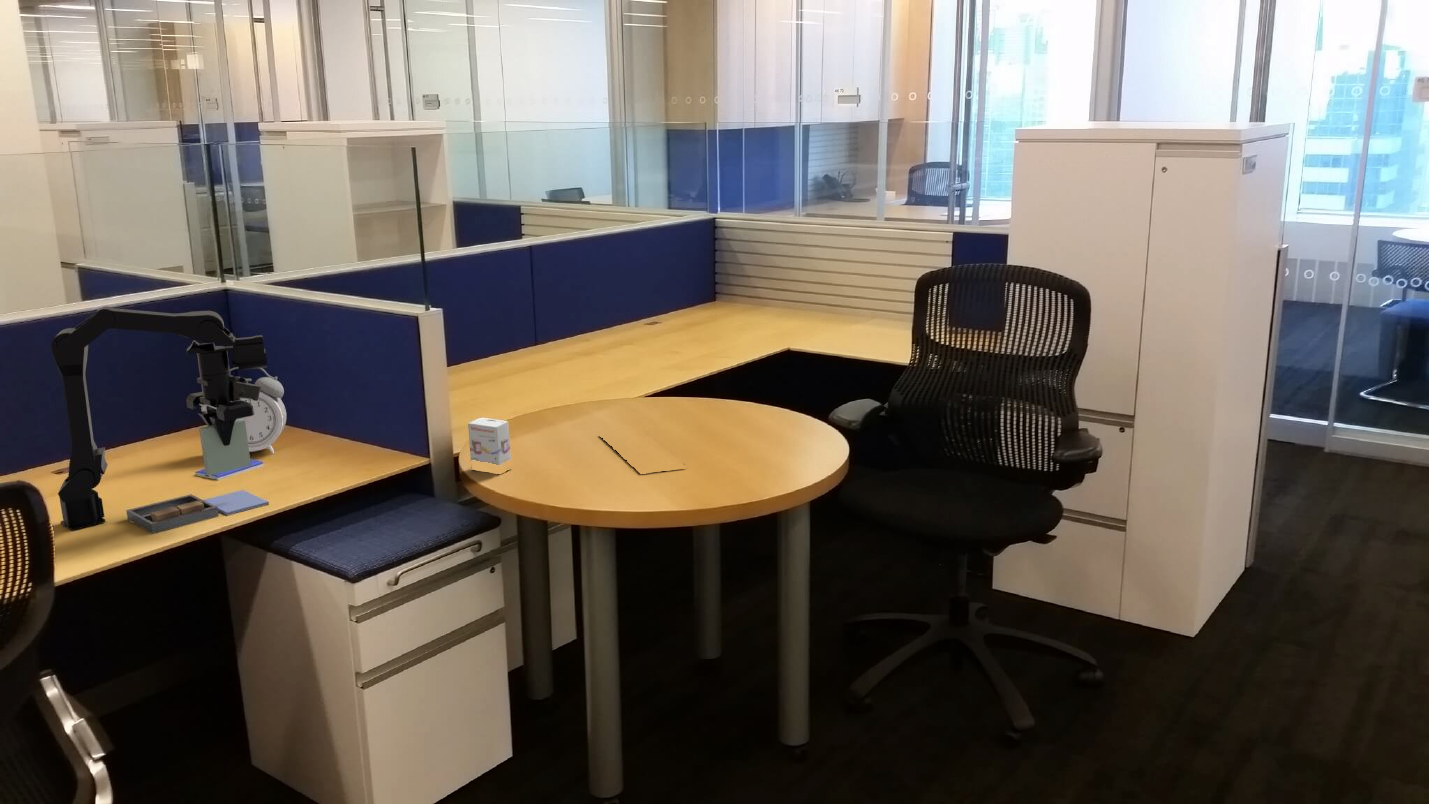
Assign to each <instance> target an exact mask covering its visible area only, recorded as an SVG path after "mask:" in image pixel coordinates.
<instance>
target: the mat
mask: <svg viewBox="0 0 1429 804" xmlns="http://www.w3.org/2000/svg"><path fill="white" fill-rule="evenodd" d="M203 500H204V501H206V502H208V503H210V504H212V505H214V506H216V507H218V512H220V513H222V514H223V515H225V516H230V515H234V514H237V513H242V512H245V511H249V510H253V509H256V508H260V507H265V506H268V505H269V503H270V502H269V501H268V500H266V499H264V498H262V497H259V496H257V495H255V494H254V493H250V492H248V491H246V490H243V489H241V490H236V491H234V492H229V493H228V492H227V493H225V494H221V495H217V496H214V497H213V496H212V497H210V498H205V499H203Z"/></svg>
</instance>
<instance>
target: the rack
mask: <svg viewBox="0 0 1429 804" xmlns="http://www.w3.org/2000/svg"><path fill="white" fill-rule="evenodd" d="M195 501H200V502H201V503H203V504H204V509H202V510H198V511H194V512H190V513H186V514H182V515H179V516H175V517H171V518H167V519H163V520H159V521H155V522H152V518H151V512H155V511H159V510H162V509H166V508H170V507H174V508H176V506H178V505H182V504H186V503H191V502H195ZM176 509H177V508H176ZM125 511H126V518H127V519H126V520H128V521H129V522H131V523H133V524H135V525H136V526H138V527H140V528H141V529H144V530H146V531H147V532H148V533H151V534H157V533H160V532H166V531H168V530H172V529H175V528H179V527H183V526H187V525H190V524H191V525H192V524H195V523H198V522H201V521H206V520H208V519H209V520H210V519H213V518H216V517H217V518H218V517H219V516H220V515H219V511H218V507H216V506H214V505H212V504H210V503H208V502H206V501H204V499H202V498H200V497H198V496H196V495H194V494H191V493H190V494H186V495H183V496H178V497H174V498H171V499H166V500H163V501H158V502H154V503H150V504H146V505H141V506H138V507H134V508H130V509H126V510H125Z"/></svg>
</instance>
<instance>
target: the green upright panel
mask: <svg viewBox="0 0 1429 804" xmlns="http://www.w3.org/2000/svg"><path fill="white" fill-rule="evenodd" d="M198 430H199V437H200V438H199V439H200V443H201V450H202V451H201V452H202V457H203V458H202V459H203V463H204V469H205V473H206V475H209V476H210V475H214V474H218V473H222V472H226V471H230V470H234V469H238V468H242V467H246V466H251V462H250V459H251V456H250V455H251V454H250V452H249V447H248V439H247V432H246V424H245V420H242V419H240V420H236V421H235V423H234V426H233V431H232V436H231V441H230V445H228V446H224V445H223V443H222V441H221V439H220V437H219V435H218V433H217V431H216V429H215V427H214V425H212V426H204V427H199V428H198Z"/></svg>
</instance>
